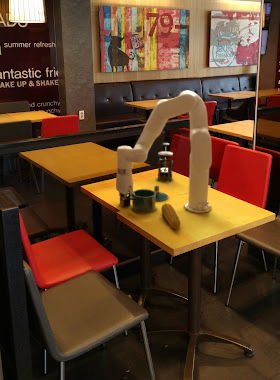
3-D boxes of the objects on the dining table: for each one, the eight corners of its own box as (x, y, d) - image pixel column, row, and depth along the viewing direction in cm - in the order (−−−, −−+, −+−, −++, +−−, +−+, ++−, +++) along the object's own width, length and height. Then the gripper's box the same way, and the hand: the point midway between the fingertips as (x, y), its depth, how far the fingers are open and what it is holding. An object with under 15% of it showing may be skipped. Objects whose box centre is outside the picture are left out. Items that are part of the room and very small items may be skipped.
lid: (172, 199, 211) (173, 187, 210) (153, 204, 205) (153, 192, 203) (159, 192, 221) (159, 181, 220) (140, 196, 215) (140, 185, 213)
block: (130, 205, 202) (130, 198, 201) (123, 207, 200) (123, 199, 199) (126, 203, 205) (126, 195, 204) (119, 204, 203) (119, 197, 202)
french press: (176, 181, 241) (177, 144, 236) (163, 183, 236) (164, 146, 231) (165, 175, 251) (166, 140, 246) (152, 178, 246) (153, 142, 241)
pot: (164, 209, 198) (164, 193, 196) (135, 216, 189) (135, 200, 187) (151, 202, 207) (151, 186, 205) (123, 208, 198) (123, 192, 197)
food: (159, 213, 193) (160, 202, 192) (170, 212, 194) (171, 201, 193) (172, 232, 173) (172, 219, 172) (184, 231, 174) (185, 218, 173)
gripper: (110, 167, 203) (110, 201, 207) (126, 176, 189) (127, 212, 193) (122, 165, 207) (123, 198, 211) (140, 173, 193) (140, 208, 197)
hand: (125, 204), depth 202 cm, fingers closed on block, 4 cm apart
